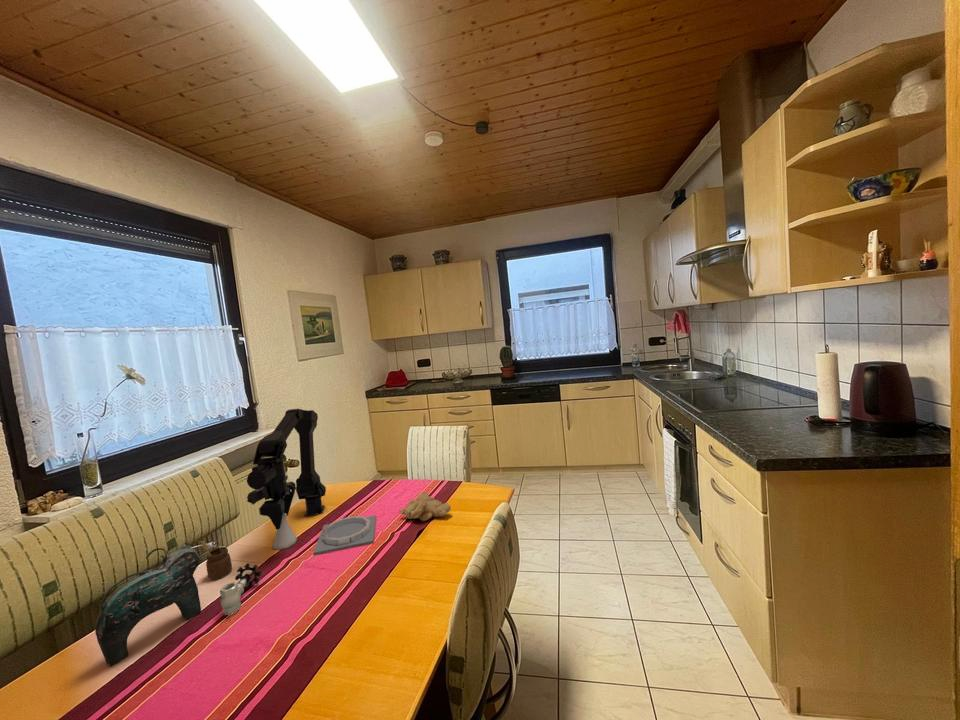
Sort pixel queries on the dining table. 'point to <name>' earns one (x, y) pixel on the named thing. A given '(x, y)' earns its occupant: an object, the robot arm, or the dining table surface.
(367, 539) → the rubber mat
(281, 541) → the flask
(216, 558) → the utensil holder
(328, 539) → the stone ring
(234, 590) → the valve
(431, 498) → the ginger root
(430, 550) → the dining table surface
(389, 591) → the dining table surface
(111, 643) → the green animal figurine
